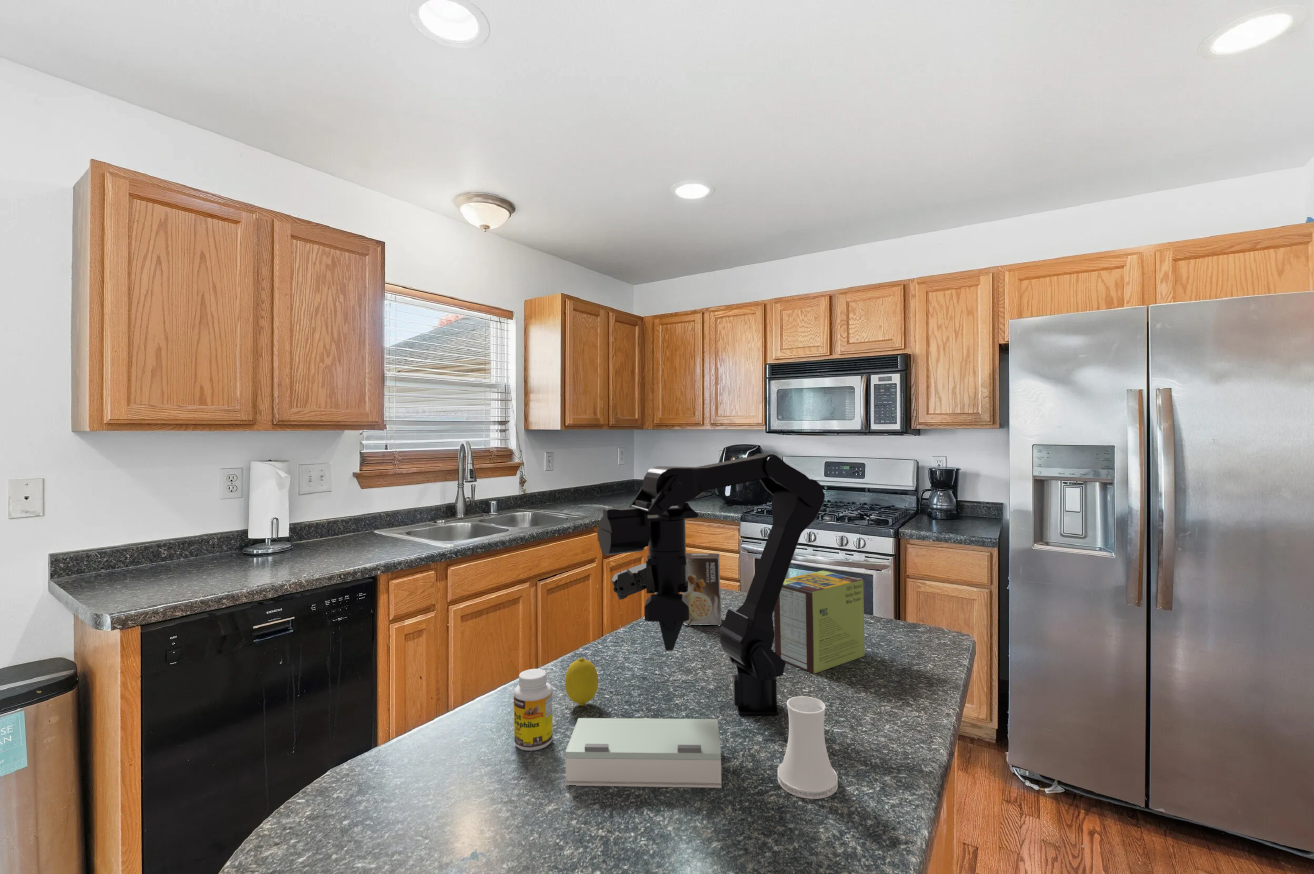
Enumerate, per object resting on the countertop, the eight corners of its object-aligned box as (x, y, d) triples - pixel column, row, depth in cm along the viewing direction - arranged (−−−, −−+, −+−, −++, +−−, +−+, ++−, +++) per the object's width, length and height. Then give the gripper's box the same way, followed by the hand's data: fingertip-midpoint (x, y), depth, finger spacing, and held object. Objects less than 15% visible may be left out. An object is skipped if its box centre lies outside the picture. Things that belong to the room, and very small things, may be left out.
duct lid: (717, 724, 84) (717, 714, 84) (721, 759, 75) (720, 748, 75) (578, 723, 85) (578, 713, 85) (565, 757, 76) (565, 747, 76)
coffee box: (722, 618, 144) (720, 552, 144) (720, 627, 138) (719, 558, 138) (684, 617, 146) (683, 552, 145) (681, 625, 139) (680, 557, 139)
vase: (828, 806, 71) (826, 723, 71) (768, 787, 75) (767, 709, 75) (844, 775, 77) (843, 699, 77) (789, 759, 81) (787, 687, 81)
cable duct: (718, 749, 84) (717, 725, 84) (721, 787, 75) (721, 760, 75) (579, 748, 85) (578, 724, 85) (566, 785, 76) (565, 758, 76)
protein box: (866, 656, 118) (864, 578, 118) (814, 674, 110) (812, 591, 110) (824, 641, 127) (823, 569, 127) (773, 657, 118) (771, 580, 118)
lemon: (593, 714, 96) (592, 665, 96) (560, 711, 97) (559, 663, 97) (602, 699, 101) (602, 652, 101) (572, 697, 102) (571, 650, 102)
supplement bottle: (507, 749, 85) (505, 679, 85) (526, 731, 91) (525, 664, 91) (541, 755, 84) (540, 683, 84) (559, 735, 89) (558, 668, 89)
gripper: (621, 538, 100) (623, 630, 100) (607, 562, 82) (609, 674, 82) (686, 537, 100) (688, 629, 100) (687, 561, 81) (690, 674, 81)
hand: (669, 649), depth 91 cm, fingers closed
